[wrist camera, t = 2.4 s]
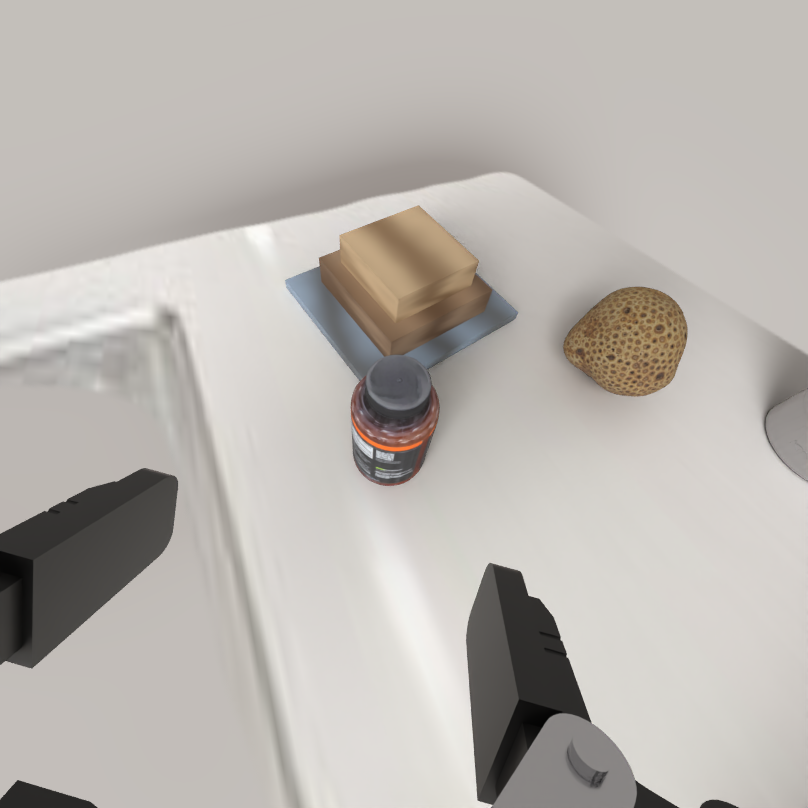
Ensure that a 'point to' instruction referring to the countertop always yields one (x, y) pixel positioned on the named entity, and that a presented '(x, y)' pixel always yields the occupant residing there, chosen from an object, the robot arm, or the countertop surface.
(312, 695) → the countertop surface
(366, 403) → the supplement bottle
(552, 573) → the countertop surface
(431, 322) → the block tower
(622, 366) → the natural sponge
